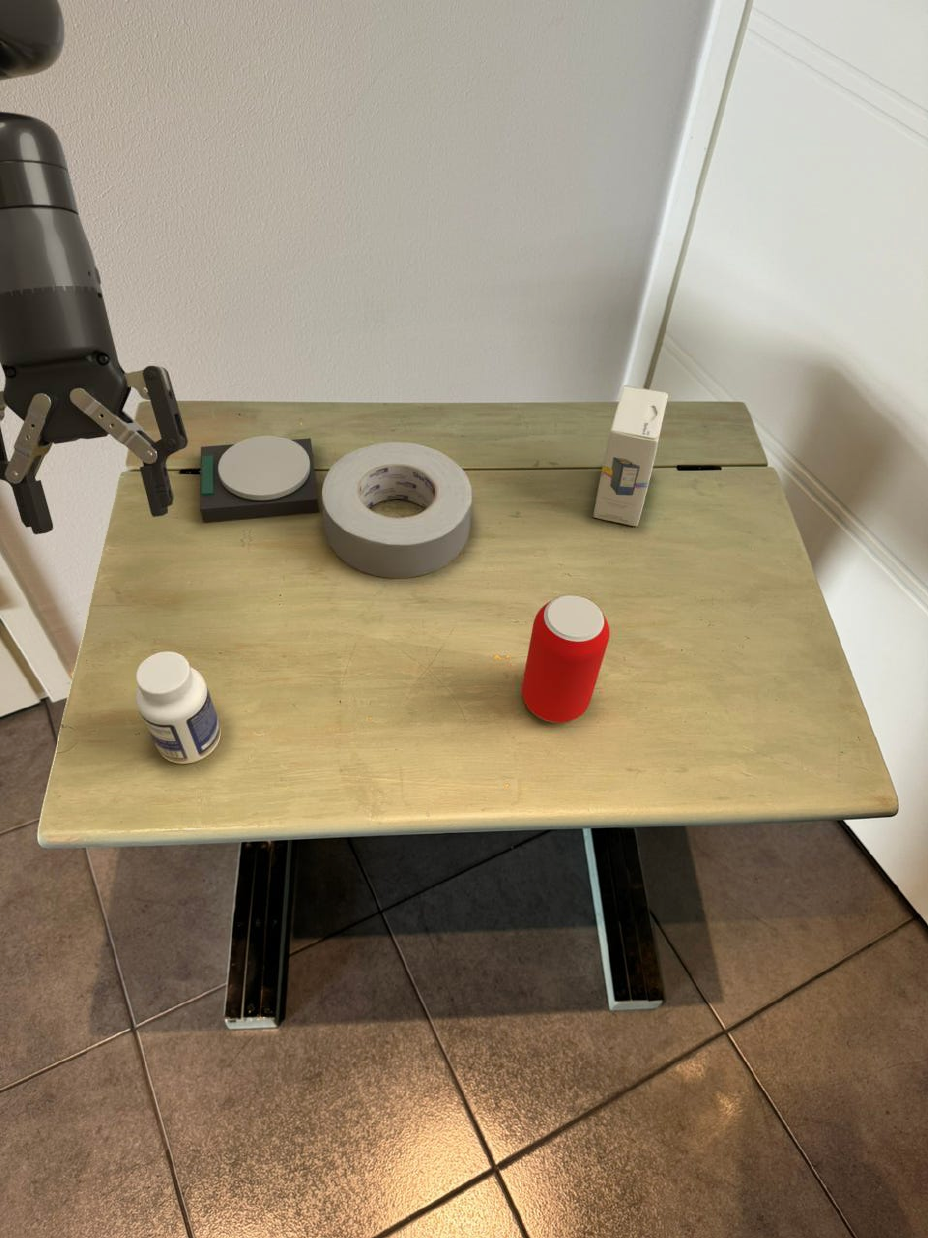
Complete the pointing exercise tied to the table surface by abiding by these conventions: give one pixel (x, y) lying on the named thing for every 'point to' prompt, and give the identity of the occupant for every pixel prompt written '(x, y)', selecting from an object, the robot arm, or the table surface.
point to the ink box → (630, 455)
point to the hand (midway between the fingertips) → (102, 523)
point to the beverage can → (564, 658)
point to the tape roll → (389, 539)
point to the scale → (257, 479)
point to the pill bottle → (176, 708)
